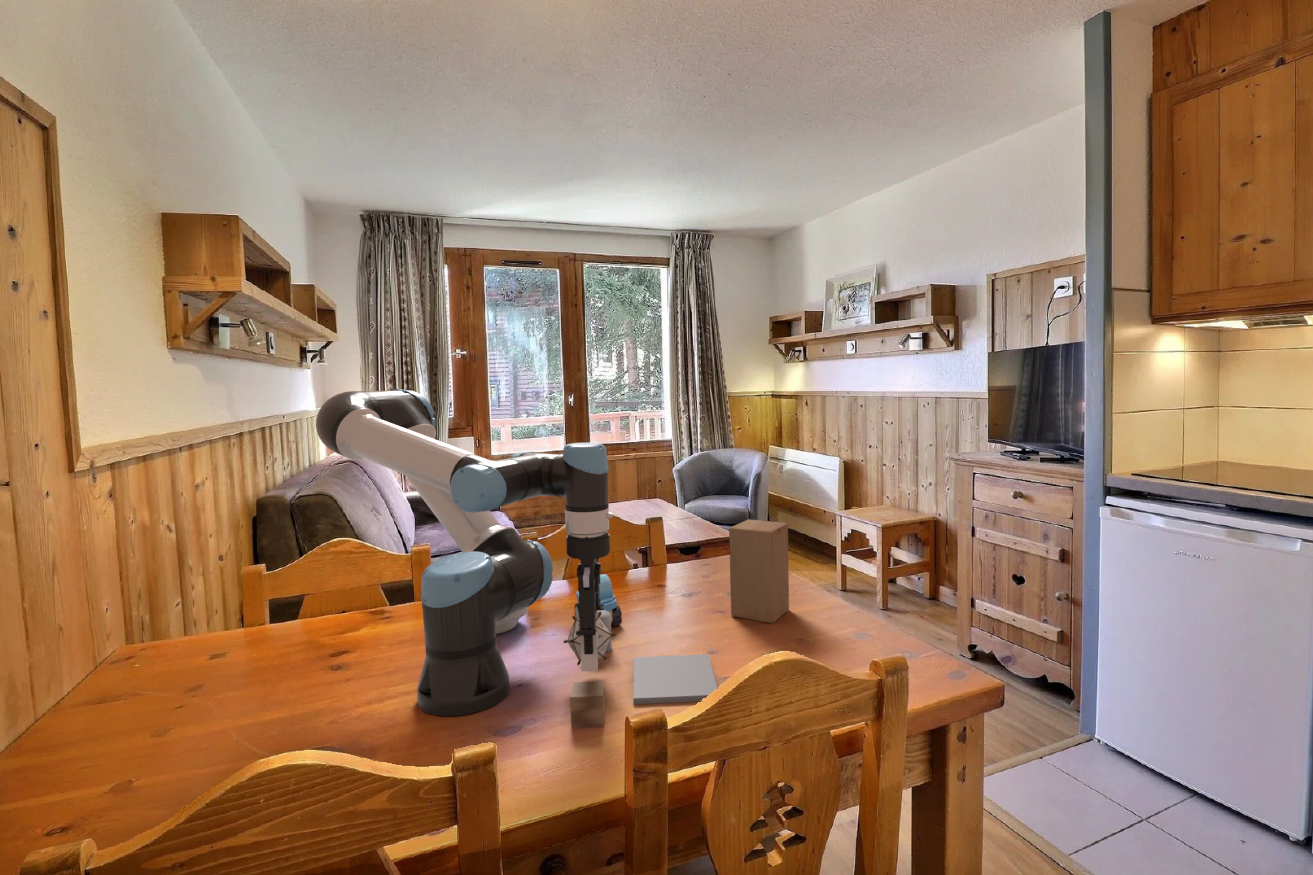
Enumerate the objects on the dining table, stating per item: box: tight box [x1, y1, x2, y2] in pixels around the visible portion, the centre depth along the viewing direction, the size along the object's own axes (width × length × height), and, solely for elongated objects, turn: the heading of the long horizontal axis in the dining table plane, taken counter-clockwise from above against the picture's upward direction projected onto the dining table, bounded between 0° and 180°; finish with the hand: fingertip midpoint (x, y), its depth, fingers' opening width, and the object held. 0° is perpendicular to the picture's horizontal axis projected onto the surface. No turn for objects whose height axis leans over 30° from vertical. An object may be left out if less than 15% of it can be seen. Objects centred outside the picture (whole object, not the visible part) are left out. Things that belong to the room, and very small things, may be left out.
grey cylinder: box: [597, 610, 613, 654], centre depth 129 cm, size 5×5×7 cm
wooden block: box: [728, 519, 790, 624], centre depth 146 cm, size 10×10×20 cm
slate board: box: [632, 653, 718, 705], centre depth 115 cm, size 14×16×1 cm
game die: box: [562, 612, 617, 666], centre depth 115 cm, size 9×8×10 cm
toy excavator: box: [574, 573, 623, 626], centre depth 146 cm, size 9×17×17 cm, turn 21°
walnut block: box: [569, 680, 606, 729], centre depth 103 cm, size 5×5×5 cm
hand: (591, 658), depth 116 cm, fingers closed on game die, 9 cm apart
